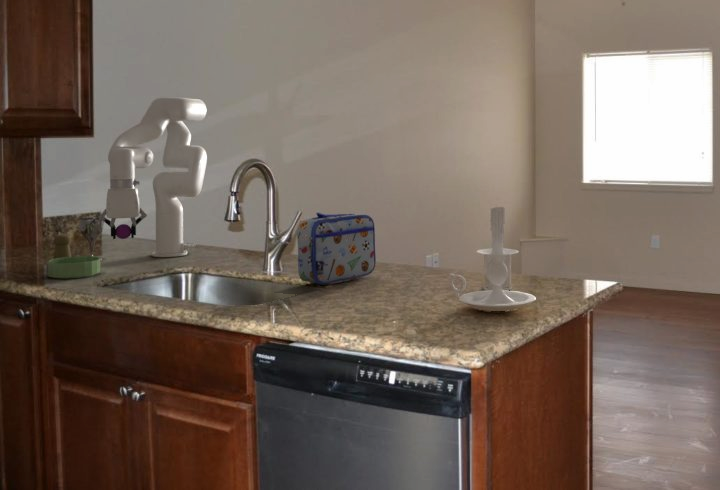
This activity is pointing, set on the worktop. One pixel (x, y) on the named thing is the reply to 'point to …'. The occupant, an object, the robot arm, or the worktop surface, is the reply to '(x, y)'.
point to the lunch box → (336, 248)
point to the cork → (62, 246)
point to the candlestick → (495, 275)
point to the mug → (486, 265)
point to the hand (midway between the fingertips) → (123, 237)
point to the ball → (123, 231)
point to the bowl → (73, 267)
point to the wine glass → (91, 230)
